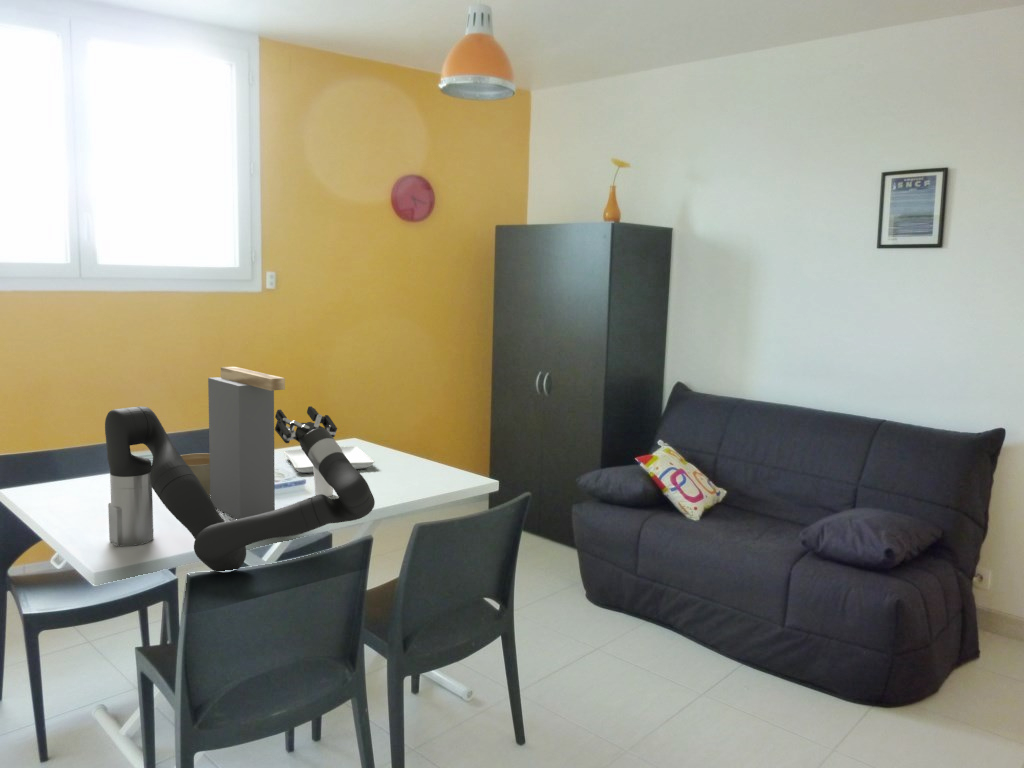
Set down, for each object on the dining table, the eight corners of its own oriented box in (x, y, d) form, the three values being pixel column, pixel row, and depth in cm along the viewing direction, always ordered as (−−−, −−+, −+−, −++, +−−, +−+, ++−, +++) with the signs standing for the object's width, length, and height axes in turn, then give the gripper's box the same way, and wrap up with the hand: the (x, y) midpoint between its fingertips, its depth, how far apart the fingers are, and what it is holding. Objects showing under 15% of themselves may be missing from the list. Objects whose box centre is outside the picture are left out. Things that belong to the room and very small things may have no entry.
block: (270, 390, 202) (270, 379, 202) (220, 377, 224) (220, 367, 224) (284, 389, 205) (284, 378, 205) (234, 376, 227) (234, 366, 226)
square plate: (282, 459, 288) (282, 449, 288) (356, 455, 300) (356, 444, 299) (295, 477, 264) (295, 465, 264) (375, 471, 276) (375, 460, 275)
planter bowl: (193, 484, 249) (193, 451, 248) (237, 490, 244) (236, 456, 243) (156, 497, 234) (155, 461, 233) (201, 503, 229) (201, 467, 228)
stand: (240, 521, 214) (238, 385, 209) (210, 505, 228) (208, 377, 223) (274, 515, 221) (273, 383, 216) (243, 499, 235) (242, 375, 230)
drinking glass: (308, 494, 242) (308, 446, 240) (327, 491, 247) (327, 444, 245) (320, 499, 237) (320, 450, 235) (339, 496, 242) (339, 447, 240)
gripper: (292, 467, 187) (263, 425, 196) (344, 459, 196) (315, 419, 205) (300, 442, 183) (270, 401, 192) (353, 435, 193) (322, 396, 202)
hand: (293, 410), depth 199 cm, fingers open, 8 cm apart
